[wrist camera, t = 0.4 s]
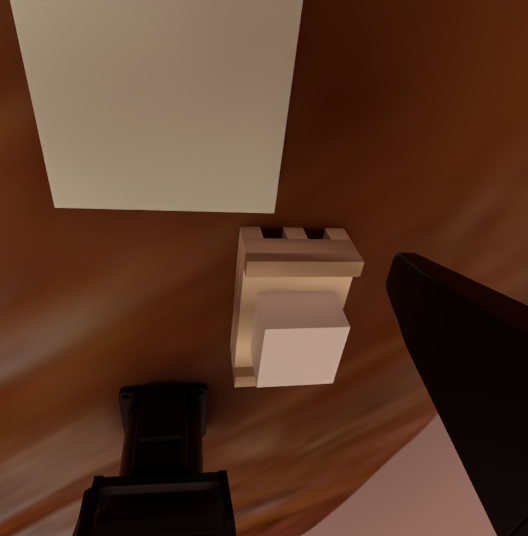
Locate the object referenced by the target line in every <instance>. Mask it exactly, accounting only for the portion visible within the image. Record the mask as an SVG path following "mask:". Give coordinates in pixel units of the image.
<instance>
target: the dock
mask: <svg viewBox="0 0 528 536" xmlns="http://www.w3.org/2000/svg"><path fill="white" fill-rule="evenodd" d="M10 2H11V7H12V12H13V16H14V21H15V26H16V30H17V35H18V40H19V44H20V49H21V53H22V58H23V63H24V67H25V72H26V77H27V81H28V86H29V91H30V95H31V100H32V105H33V109H34V114H35V118H36V123H37V128H38V132H39V137H40V142H41V146H42V151H43V156H44V160H45V165H46V169H47V174H48V179H49V183H50V188H51V193H52V197H53V202H54V207H55V208H89V209H128V210H166V211H205V212H243V213H274V211H275V203H276V196H277V188H278V181H279V174H280V166H281V159H282V152H283V144H284V137H285V129H286V122H287V115H288V107H289V100H290V93H291V85H292V78H293V70H294V63H295V56H296V48H297V41H298V34H299V26H300V19H301V11H302V4H303V0H10Z"/></svg>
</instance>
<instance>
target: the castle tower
mask: <svg viewBox="0 0 528 536" xmlns="http://www.w3.org/2000/svg"><path fill="white" fill-rule="evenodd" d="M363 265H364V260H363V259H362V257H361V256H360V254H359V252H358V251H357V249H356V248H355V246H354V244H353V243H352V241H351V239H350V238H349V236H348V235H347V233H346V231H345V230H344V228H325V230H324V235H323V239H308V238H307V236H306V234H305V231H304V229H303V228H295V227H283V233H282V239H267V238H263V235H262V231H261V228H260V227H244V226H240V232H239V244H238V257H237V269H236V281H235V293H234V305H233V317H232V329H231V342H230V350H231V359H232V369H233V378H234V387H249V386H256V381H255V375H254V368H253V362H252V356H251V350H250V347H251V339H252V331H253V323H254V315H255V307H256V299H257V292H334V293H335V295H336V297H337V299H338V301H339V303H340V306H341V308H342V310H343V308H344V305H345V301H346V298H347V294H348V291H349V288H350V284H351V281H352V277H360V275H361V272H362V268H363Z"/></svg>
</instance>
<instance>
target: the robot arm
mask: <svg viewBox="0 0 528 536" xmlns="http://www.w3.org/2000/svg"><path fill="white" fill-rule="evenodd" d="M386 291H387V294H388V297H389V300H390V303H391V306H392V308H393V311H394V314H395V317H396V320H397V323H398V326H399V328H400V331H401V334H402V337H403V339H404V342H405V344H406V347H407V349H408V351H409V353H410V355H411V357H412V360H413V362H414V364H415V366H416V368H417V370H418V372H419V374H420V376H421V378H422V380H423V382H424V384H425V387H426V389H427V391H428V393H429V395H430V397H431V399H432V401H433V403H434V405H435V407H436V409H437V412H438V414H439V416H440V418H441V420H442V422H443V424H444V426H445V428H446V430H447V432H448V434H449V436H450V438H451V440H452V442H453V445H454V447H455V449H456V451H457V453H458V455H459V457H460V459H461V461H462V463H463V466H464V468H465V470H466V472H467V474H468V476H469V478H470V480H471V482H472V484H473V486H474V488H475V491H476V493H477V495H478V497H479V499H480V501H481V503H482V505H483V507H484V509H485V511H486V513H487V516H488V518H489V520H490V522H491V524H492V526H493V528H494V530H495V532H496V534H497V536H528V306H527V305H525V304H523V303H521V302H519V301H517V300H514V299H512V298H510V297H508V296H506V295H504V294H502V293H499V292H497V291H495V290H493V289H491V288H489V287H487V286H484V285H482V284H480V283H478V282H476V281H474V280H472V279H469V278H467V277H465V276H463V275H461V274H459V273H457V272H454V271H452V270H450V269H448V268H446V267H444V266H442V265H439V264H437V263H435V262H433V261H431V260H429V259H427V258H424V257H422V256H420V255H418V254H416V253H398V254H396V255H395V257H394V259H393V261H392V265H391V268H390V271H389V274H388V277H387V280H386ZM119 403H120V409H121V415H122V421H123V427H124V434H125V437H124V444H123V451H122V458H121V465H120V472H119V476H115V477H104V476H94V480H93V484H92V487H91V488H89V489H88V490H86V491H84V495H83V500H82V505H81V510H80V514H79V518H78V521H77V524H76V527H75V530H74V532H73V535H72V536H236V529H235V521H234V514H233V508H232V502H231V496H230V490H229V483H228V477H227V471H226V470H220V471H218V472H207V473H203V450H202V437H203V436H205V434H206V416H207V386H206V385H204V384H195V385H176V386H157V387H138V388H124V389H121V390H120V392H119Z"/></svg>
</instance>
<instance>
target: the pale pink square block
mask: <svg viewBox="0 0 528 536" xmlns="http://www.w3.org/2000/svg"><path fill="white" fill-rule="evenodd" d="M349 330H350V325H349V323H348V321H347V319H346V316H345V314H344V312H343V310H342V308H341V306H340V303H339V301H338V299H337V297H336V295H335V293H334V292H257V299H256V307H255V315H254V323H253V331H252V339H251V347H250V350H251V356H252V362H253V368H254V375H255V381H256V387H275V386H293V385H311V384H329V383H333V381H334V377H335V374H336V371H337V368H338V365H339V362H340V358H341V355H342V352H343V349H344V346H345V343H346V339H347V336H348V333H349Z"/></svg>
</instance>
